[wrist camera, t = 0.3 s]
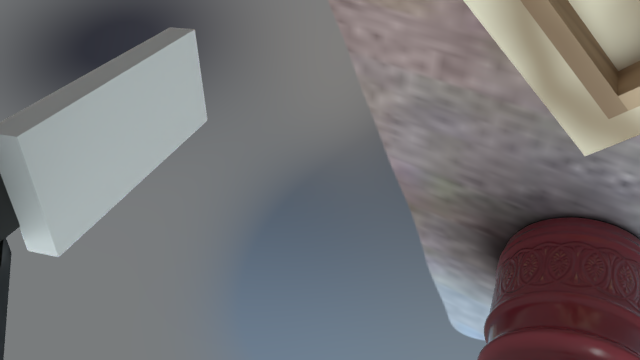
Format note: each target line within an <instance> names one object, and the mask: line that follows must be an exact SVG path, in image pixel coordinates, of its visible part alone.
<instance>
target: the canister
mask: <svg viewBox="0 0 640 360" xmlns="http://www.w3.org/2000/svg"><path fill="white" fill-rule="evenodd" d="M484 336H485V340H486V343H487V344H486V345H485V346H484V348H483V349H482V350H481V352H480V354H479V356H478V359H477V360H640V239H638V238H637V237H635V236H634V235H632V234H631V233H629V232H627V231H625V230H623V229H621V228H619V227H616V226H614V225H611V224H608V223H605V222H601V221H597V220H592V219H585V218H571V217H569V218H554V219H548V220H543V221H539V222H536V223H533V224H531V225H529V226H527V227H525V228H523V229H521V230H520V231H518V232H517V233H516V234H514V235H513V236H512V237H511V238H510V240H509V241H508V242H507V244H506V246H505V248H504V250H503V252H502V253H501V255H500V257H499V260H498V264H497V268H496V284H495V289H494V294H493V299H492V304H491V309H490V314H489V315H488V317H487V319H486V322H485V326H484Z"/></svg>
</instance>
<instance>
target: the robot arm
mask: <svg viewBox="0 0 640 360" xmlns="http://www.w3.org/2000/svg"><path fill="white" fill-rule="evenodd" d="M206 121H207V114H206V107H205V99H204V93H203V85H202V79H201V72H200V65H199V57H198V50H197V43H196V36H195V30H194V29H182V28H168V29H167V30H165V31H163V32H161V33H160V34H158V35H156V36H154V37H152V38H150V39H149V40H147V41H145V42H143V43H141V44H140V45H138V46H136V47H134V48H132V49H131V50H129V51H127V52H125V53H123V54H122V55H120V56H118V57H116V58H115V59H113V60H111V61H109V62H107V63H106V64H104V65H102V66H100V67H98V68H97V69H95V70H93V71H91V72H89V73H88V74H86V75H84V76H82V77H80V78H79V79H77V80H75V81H73V82H71V83H70V84H68V85H67V86H65V87H63V88H61V89H59V90H57V91H55V92H54V93H52V94H50V95H48V96H46V97H45V98H43V99H41V100H40V101H38V102H36V103H34V104H32V105H30V106H28V107H27V108H25V109H23V110H22V111H20V112H18V113H16V114H14V115H12V116H11V117H9V118H7V119H5V120H3V121H2V122H0V360H3V357H4V356H3V355H4V343H5V330H6V317H7V304H8V291H9V278H10V263H11V251H10V248H9V245H8V242H7V240H6V237H7V236H8V235H10V234H11V233H12V232H13V231H15V230H16V229H17V228H20V231H21V234H22V236H23V239H24V241H25V244H26V247H27V249H28V251H32V252H37V253H41V254H46V255H51V256H56V257H59V256H60V255H61V254H63V252H65V251H66V250H67V249H68V248H69V247H70V246H71V245H72V244H74V243H75V242H76V241H77V240H78V239H79V238H80V237H81V236H82V235H83V234H84V233H85V232H87V231H88V230H89V229H90V228H91V227H92V226H93V225H94V224H95V223H96V222H97V221H98V220H100V218H102V217H103V216H104V215H105V214H106V213H107V212H108V211H109V210H110V209H112V208H113V207H114V206H115V205H116V204H117V203H118V202H119V201H120V200H121V199H122V198H124V197H125V196H126V195H127V194H128V193H129V192H130V191H131V190H132V189H133V188H134V187H135V186H136V185H138V184H139V183H140V182H141V181H142V180H143V179H144V178H145V177H146V176H147V175H148V174H150V173H151V172H152V171H153V170H154V169H155V168H156V167H157V166H158V165H159V164H160V163H161V162H162V161H164V160H165V159H166V158H167V157H168V156H169V155H170V154H171V153H172V152H173V151H175V150H176V149H177V148H178V147H179V146H180V145H181V144H182V143H183V142H184V141H185V140H186V139H188V138H189V136H191V135H192V134H193V133H194V132H195V131H196V130H197V129H198V128H200V127H201V126H202V125H203V124H204V123H205V122H206Z"/></svg>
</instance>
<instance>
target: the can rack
mask: <svg viewBox="0 0 640 360" xmlns="http://www.w3.org/2000/svg"><path fill="white" fill-rule="evenodd" d="M464 2H465V3H466V4H467V6H468V7H469V8H470V9H471V11H472V12H473V13H474V15H475V16H476V17H477V18H478V20H479V21H480V22H481V24H482V25H483V26H484V27H485V29H486V30H487V31H488V32H489V34H490V35H491V36H492V38H493V39H494V40H495V41H496V43H497V44H498V45H499V47H500V48H501V49H502V50H503V52H504V53H505V54H506V56H507V57H508V58H509V59H510V61H511V62H512V63H513V65H514V66H515V67H516V68H517V70H518V71H519V72H520V74H521V75H522V76H523V77H524V79H525V80H526V81H527V83H528V84H529V85H530V86H531V88H532V89H533V90H534V91H535V93H536V94H537V95H538V97H539V98H540V99H541V100H542V102H543V103H544V104H545V106H546V107H547V108H548V109H549V111H550V112H551V113H552V115H553V116H554V117H555V118H556V120H557V121H558V122H559V124H560V125H561V126H562V127H563V129H564V130H565V131H566V133H567V134H568V135H569V136H570V138H571V139H572V140H573V141H574V143H575V144H576V145H577V147H578V148H579V149H580V150H581V152H582V153H583V154H584V156H587V155H590V154H592V153H595V152H597V151H600V150H602V149H605V148H607V147H610V146H612V145H615V144H617V143H620V142H622V141H625V140H627V139H630V138H632V137H635V136H638V135H640V0H464Z"/></svg>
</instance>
